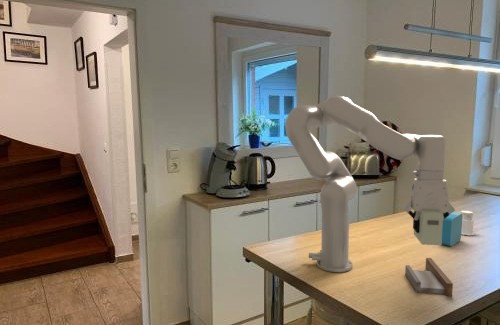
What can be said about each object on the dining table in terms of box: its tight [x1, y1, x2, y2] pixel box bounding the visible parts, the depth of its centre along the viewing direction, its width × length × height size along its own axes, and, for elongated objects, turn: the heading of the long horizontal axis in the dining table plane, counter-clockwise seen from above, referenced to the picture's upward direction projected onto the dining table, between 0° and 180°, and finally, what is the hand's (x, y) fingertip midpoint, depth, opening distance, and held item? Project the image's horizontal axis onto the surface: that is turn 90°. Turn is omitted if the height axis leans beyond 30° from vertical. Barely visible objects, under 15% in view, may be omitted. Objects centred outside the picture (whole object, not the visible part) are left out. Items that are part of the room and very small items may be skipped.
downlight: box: [460, 210, 475, 236], centre depth 170 cm, size 8×7×10 cm
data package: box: [442, 211, 462, 247], centre depth 159 cm, size 12×4×12 cm, turn 133°
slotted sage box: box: [413, 210, 443, 246], centre depth 119 cm, size 6×10×10 cm, turn 170°
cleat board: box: [404, 257, 454, 297], centre depth 124 cm, size 10×20×4 cm, turn 172°
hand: (427, 231), depth 119 cm, fingers closed on slotted sage box, 5 cm apart
